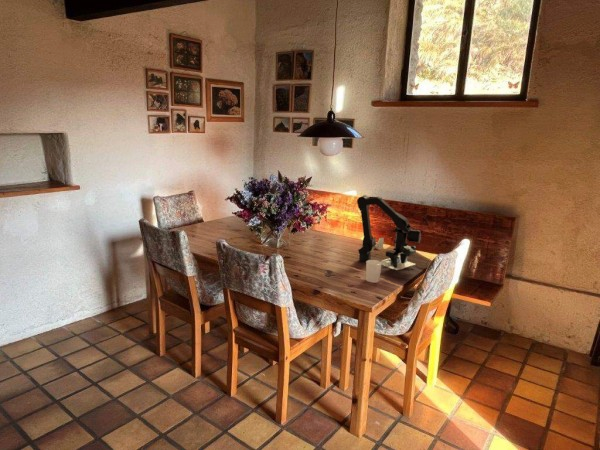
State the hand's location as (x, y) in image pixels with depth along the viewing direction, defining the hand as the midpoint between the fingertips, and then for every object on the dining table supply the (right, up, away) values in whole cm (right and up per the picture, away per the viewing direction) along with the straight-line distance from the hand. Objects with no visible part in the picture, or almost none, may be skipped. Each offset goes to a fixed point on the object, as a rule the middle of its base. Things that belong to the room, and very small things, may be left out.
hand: (398, 266), depth 241 cm
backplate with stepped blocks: (+1, 0, +5) cm, 5 cm away
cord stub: (-1, 0, +2) cm, 2 cm away
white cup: (-18, -6, -18) cm, 26 cm away
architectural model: (-4, +8, +39) cm, 39 cm away
